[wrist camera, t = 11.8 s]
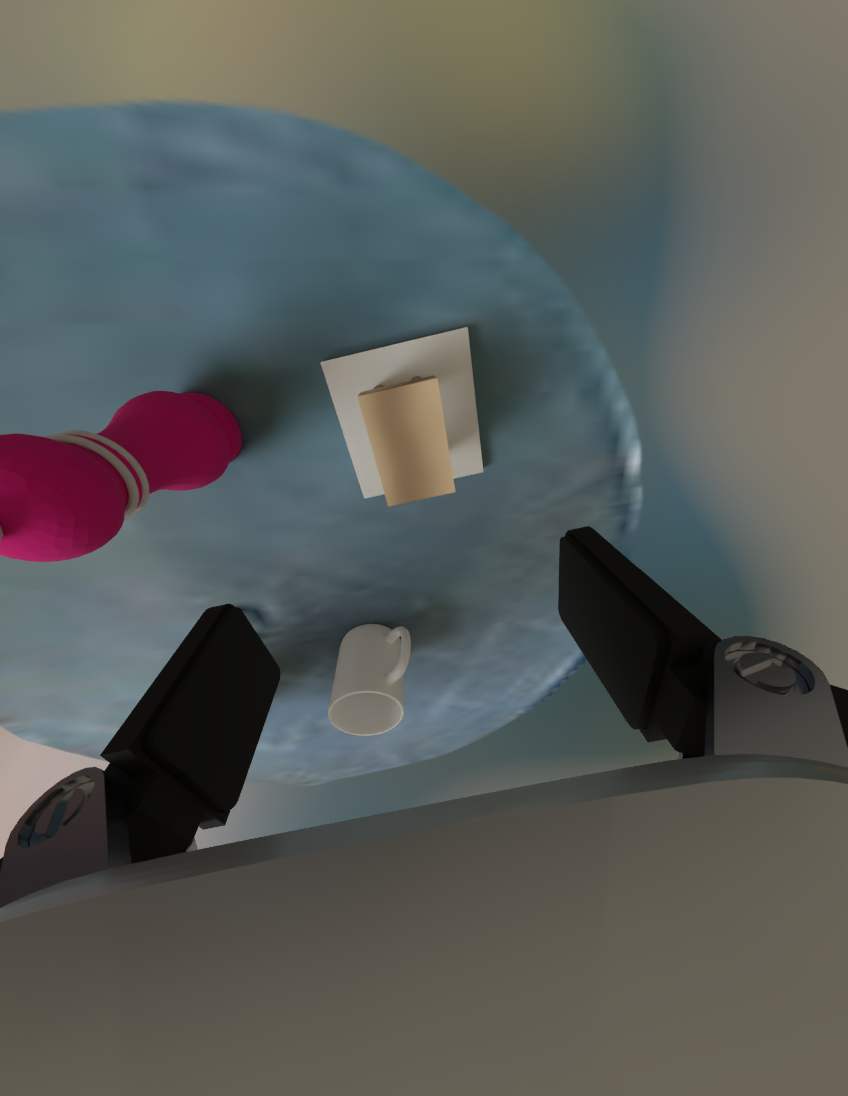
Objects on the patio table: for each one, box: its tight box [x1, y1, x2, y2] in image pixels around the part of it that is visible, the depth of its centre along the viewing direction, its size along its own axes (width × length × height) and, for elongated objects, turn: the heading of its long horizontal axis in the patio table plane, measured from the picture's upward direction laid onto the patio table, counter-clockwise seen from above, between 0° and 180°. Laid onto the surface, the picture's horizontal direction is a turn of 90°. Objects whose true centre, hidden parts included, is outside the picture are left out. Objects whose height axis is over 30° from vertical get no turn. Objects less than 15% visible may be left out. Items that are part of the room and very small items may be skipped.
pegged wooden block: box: [357, 375, 455, 507], centre depth 25 cm, size 5×8×8 cm, turn 11°
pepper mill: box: [0, 391, 242, 562], centre depth 21 cm, size 7×7×20 cm
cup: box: [328, 624, 411, 736], centre depth 40 cm, size 8×12×10 cm
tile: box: [320, 327, 483, 499], centre depth 30 cm, size 12×12×1 cm
